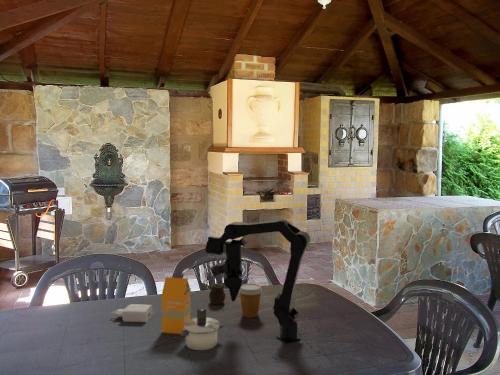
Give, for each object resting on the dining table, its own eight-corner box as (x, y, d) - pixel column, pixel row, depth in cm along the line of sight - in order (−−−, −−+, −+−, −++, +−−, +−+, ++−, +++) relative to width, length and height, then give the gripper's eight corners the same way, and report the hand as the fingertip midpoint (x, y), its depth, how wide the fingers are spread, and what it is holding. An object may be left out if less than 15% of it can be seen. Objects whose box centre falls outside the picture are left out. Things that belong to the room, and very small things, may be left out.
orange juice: (184, 334, 168) (183, 281, 166) (161, 332, 170) (161, 280, 168) (191, 326, 176) (190, 275, 174) (169, 324, 177) (169, 274, 176)
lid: (225, 329, 158) (225, 312, 157) (192, 336, 152) (192, 319, 151) (209, 317, 168) (209, 301, 168) (178, 324, 162) (178, 307, 162)
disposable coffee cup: (261, 319, 183) (262, 290, 182) (238, 319, 184) (238, 290, 182) (261, 311, 193) (262, 283, 192) (239, 310, 193) (239, 283, 192)
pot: (228, 344, 160) (228, 327, 159) (187, 354, 152) (187, 336, 151) (214, 333, 169) (214, 317, 169) (174, 342, 161) (174, 325, 161)
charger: (116, 313, 189) (152, 315, 188) (108, 322, 180) (145, 323, 179) (116, 302, 189) (152, 303, 188) (108, 310, 179) (145, 311, 178)
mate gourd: (208, 300, 206) (208, 278, 205) (224, 300, 207) (225, 278, 206) (209, 306, 198) (209, 283, 198) (226, 305, 200) (227, 283, 199)
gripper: (213, 250, 178) (213, 289, 180) (210, 262, 160) (210, 305, 161) (242, 250, 179) (241, 289, 180) (241, 262, 160) (241, 305, 161)
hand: (233, 297), depth 170 cm, fingers open, 9 cm apart
